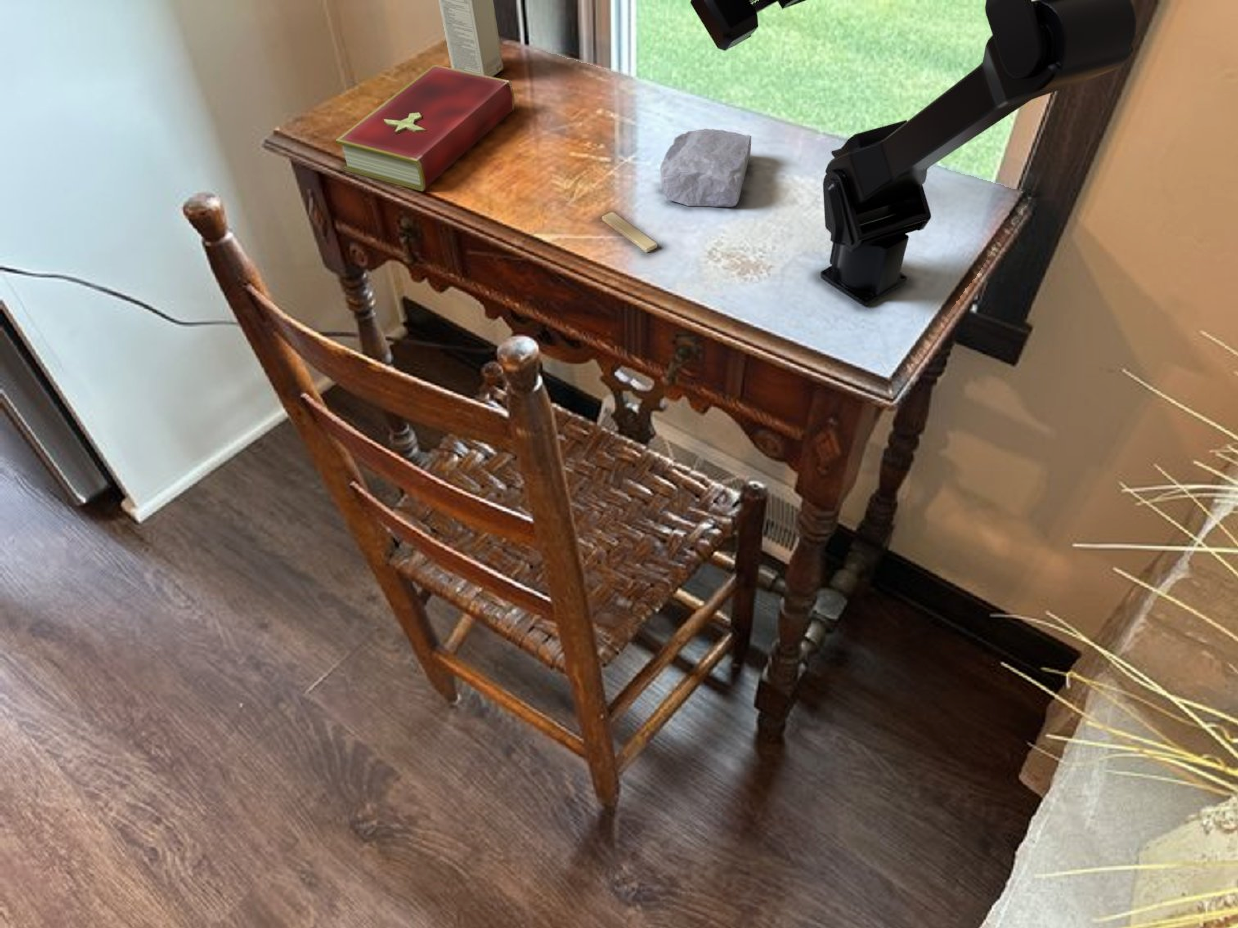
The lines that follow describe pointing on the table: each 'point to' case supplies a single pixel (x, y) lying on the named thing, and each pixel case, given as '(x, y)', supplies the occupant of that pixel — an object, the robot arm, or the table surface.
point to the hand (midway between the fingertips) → (748, 22)
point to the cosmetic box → (472, 36)
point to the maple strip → (629, 232)
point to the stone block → (706, 168)
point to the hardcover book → (426, 126)
